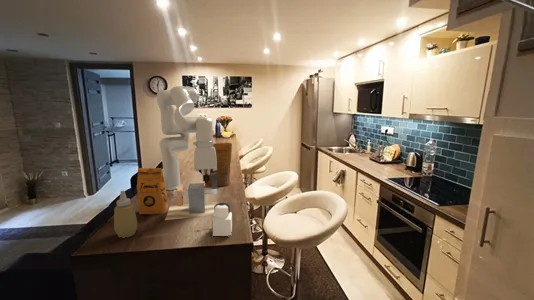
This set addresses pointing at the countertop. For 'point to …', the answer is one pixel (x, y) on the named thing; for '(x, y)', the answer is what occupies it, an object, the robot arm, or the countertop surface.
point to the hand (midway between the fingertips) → (206, 182)
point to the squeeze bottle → (124, 217)
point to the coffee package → (151, 191)
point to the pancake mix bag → (221, 164)
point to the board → (183, 211)
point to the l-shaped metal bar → (206, 190)
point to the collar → (180, 196)
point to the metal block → (196, 198)
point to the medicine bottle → (222, 220)
